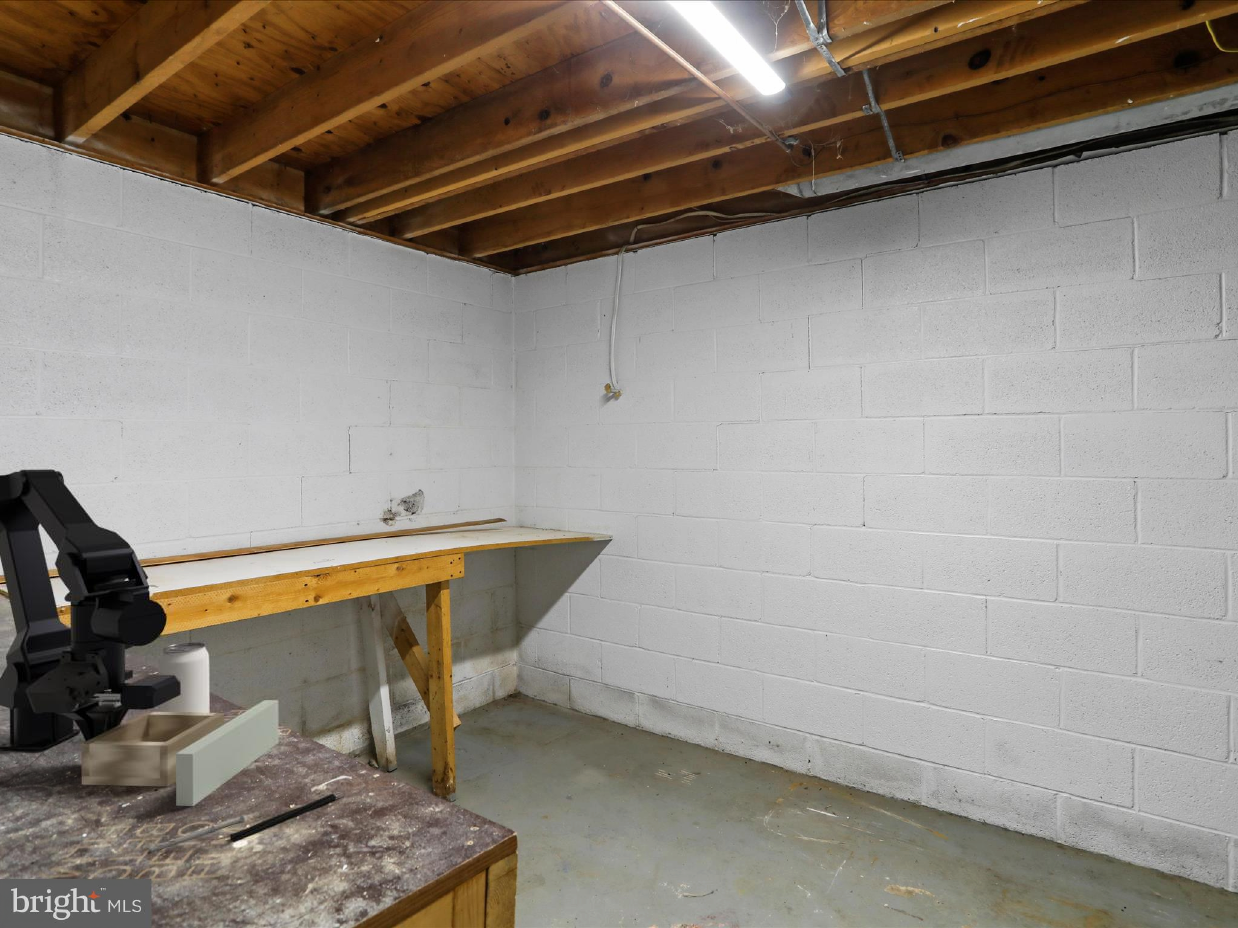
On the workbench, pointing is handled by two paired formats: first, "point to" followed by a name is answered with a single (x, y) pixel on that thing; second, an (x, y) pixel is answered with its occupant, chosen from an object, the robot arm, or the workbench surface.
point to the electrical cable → (283, 817)
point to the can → (187, 676)
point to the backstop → (225, 752)
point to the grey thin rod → (196, 834)
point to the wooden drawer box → (144, 748)
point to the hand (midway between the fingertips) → (99, 756)
